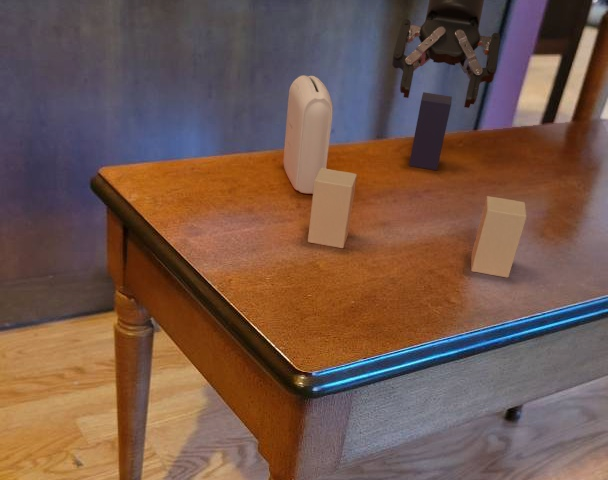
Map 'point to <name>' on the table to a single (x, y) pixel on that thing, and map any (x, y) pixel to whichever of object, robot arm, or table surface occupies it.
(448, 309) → the table surface
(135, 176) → the table surface
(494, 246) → the post
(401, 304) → the table surface
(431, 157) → the navy block
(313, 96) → the photo printer
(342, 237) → the post
